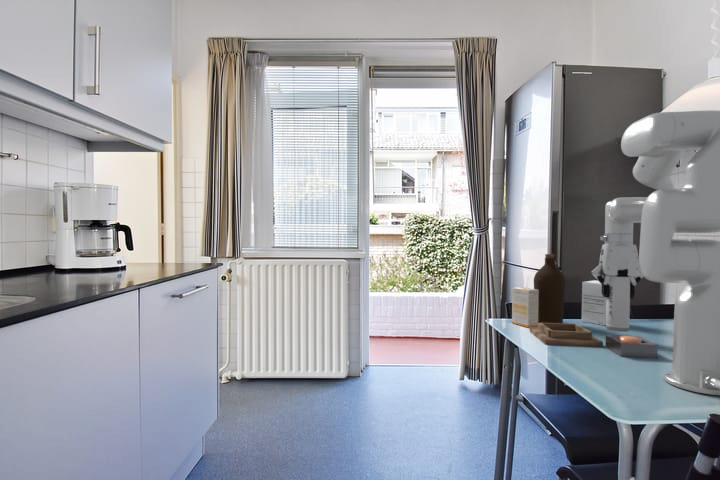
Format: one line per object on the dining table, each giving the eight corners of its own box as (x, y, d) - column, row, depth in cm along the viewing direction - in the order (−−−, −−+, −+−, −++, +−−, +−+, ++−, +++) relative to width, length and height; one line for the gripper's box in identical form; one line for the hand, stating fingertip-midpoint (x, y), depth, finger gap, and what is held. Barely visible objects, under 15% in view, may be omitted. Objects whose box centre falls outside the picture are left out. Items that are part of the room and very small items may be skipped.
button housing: (657, 358, 112) (657, 344, 112) (620, 356, 113) (621, 343, 113) (638, 348, 121) (639, 336, 121) (605, 347, 122) (605, 335, 122)
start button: (645, 350, 114) (645, 340, 114) (625, 349, 115) (625, 339, 115) (635, 345, 119) (635, 336, 119) (616, 345, 120) (616, 335, 120)
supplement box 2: (592, 318, 163) (593, 279, 163) (617, 323, 156) (618, 282, 155) (580, 321, 158) (581, 281, 157) (605, 326, 150) (606, 283, 150)
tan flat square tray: (602, 346, 122) (603, 334, 122) (545, 344, 124) (545, 332, 124) (580, 333, 138) (580, 322, 138) (529, 331, 140) (529, 321, 140)
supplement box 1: (538, 327, 147) (539, 289, 147) (528, 328, 145) (528, 290, 145) (521, 322, 155) (522, 286, 155) (511, 323, 153) (511, 287, 153)
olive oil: (545, 326, 148) (547, 255, 148) (526, 320, 159) (528, 253, 158) (571, 325, 151) (573, 255, 151) (550, 319, 161) (552, 253, 161)
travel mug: (625, 328, 135) (626, 265, 135) (632, 332, 128) (633, 266, 128) (603, 326, 136) (604, 264, 137) (609, 330, 130) (610, 265, 130)
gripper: (594, 239, 130) (593, 298, 130) (655, 240, 128) (654, 300, 128) (584, 239, 137) (583, 295, 137) (641, 240, 135) (640, 296, 135)
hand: (617, 297), depth 132 cm, fingers closed on travel mug, 6 cm apart
